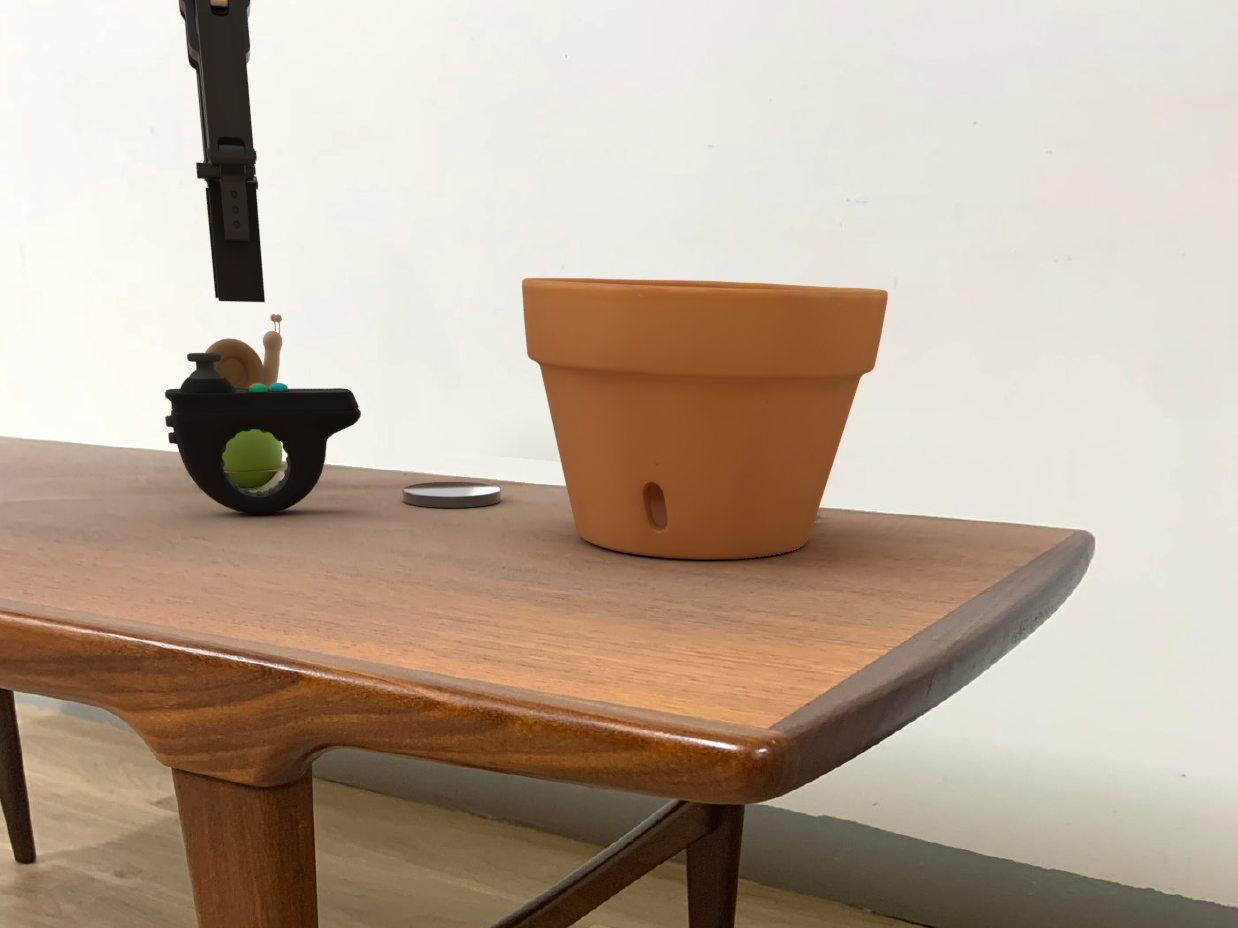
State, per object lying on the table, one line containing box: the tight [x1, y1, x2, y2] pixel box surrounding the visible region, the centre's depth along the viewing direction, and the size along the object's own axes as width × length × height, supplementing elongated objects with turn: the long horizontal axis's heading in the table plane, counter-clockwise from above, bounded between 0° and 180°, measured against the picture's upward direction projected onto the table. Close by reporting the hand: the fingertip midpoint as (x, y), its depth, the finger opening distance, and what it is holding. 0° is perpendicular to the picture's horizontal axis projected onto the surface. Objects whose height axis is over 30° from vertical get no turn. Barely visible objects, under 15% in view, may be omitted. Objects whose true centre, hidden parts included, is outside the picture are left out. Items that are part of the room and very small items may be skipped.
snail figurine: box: [204, 313, 283, 490], centre depth 95 cm, size 5×6×12 cm
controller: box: [164, 352, 362, 515], centre depth 86 cm, size 4×12×10 cm, turn 108°
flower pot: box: [521, 277, 889, 560], centre depth 79 cm, size 21×21×15 cm
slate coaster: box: [401, 481, 502, 509], centre depth 94 cm, size 7×7×1 cm
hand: (239, 299), depth 83 cm, fingers open, 7 cm apart
